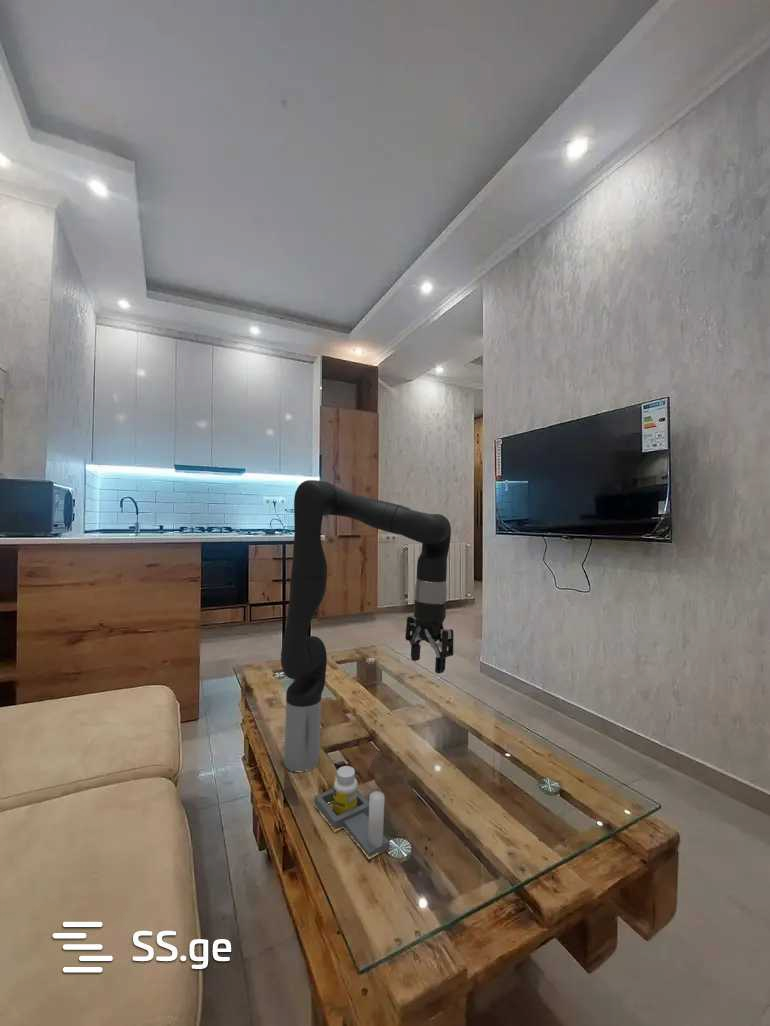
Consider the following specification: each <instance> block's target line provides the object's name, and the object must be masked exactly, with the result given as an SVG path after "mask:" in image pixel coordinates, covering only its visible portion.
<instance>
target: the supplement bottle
mask: <svg viewBox="0 0 770 1026" xmlns="http://www.w3.org/2000/svg"><path fill="white" fill-rule="evenodd" d="M358 786H359V783H358V780H357V779H356V771H355V769H354V768H353V767H352V766H349V765H344V766H341V767H338V769H337V771H336V778H335V780H334V782H333V788H334V790H333V803H332V811H333V812H334V813H335V814H336V816H338V815H340V814H343V813H345V812H347V811H349V810H351V809H354V808H356V807H357V790H358V788H359V787H358ZM358 791H359V790H358Z"/></svg>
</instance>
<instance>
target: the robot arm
mask: <svg viewBox="0 0 770 1026" xmlns="http://www.w3.org/2000/svg"><path fill="white" fill-rule="evenodd" d="M293 497H294V498H293V511H294V512H293V514H294V515H293V516H294V517H293V519H294V524H293V525H294V527H293V528H294V535H293V536H294V537H293V538H294V539H293V549H292V550H293V551H292V563H291V564H292V565H291V571H290V580H289V581H290V584H289V600H288V609H287V617H286V624H285V630H284V634H283V640H282V646H281V650H280V651H281V653H280V664H281V669H282V671H283V673H284V675H285V676H286V677H287V678H288V679H293V680H294V679H295V680H294V681H293V682H292V683H291V684H290V685H289V686H288V687H287V689H286V695H285V698H286V699H285V721H284V722H285V723H284V724H285V727H284V729H285V730H284V752H283V753H284V755H283V765H284V768H285V767H286V768H287V769H286V768H285V769H286V770H288V769H289V770H292V771H306V770H310V769H313V768H314V767H315V768H317V766H319V764H320V747H321V743H320V742H321V721H322V720H321V717H322V694H323V691H324V689H325V685H326V675H327V674H326V673H327V663H328V662H327V661H328V660H327V659H328V658H327V656H328V655H327V650H326V646H325V644H324V642H323V640H322V639H321V638H320V637H318V636H314V635H313V636H312V635H311V636H308V631H309V628H310V625H311V623H312V620H313V618H314V616H315V615H316V613H317V611H318V609H319V607H320V605H321V603H322V602H323V599H324V597H325V593H326V589H327V578H328V564H327V558H326V555H325V551H324V547H323V544H322V537H321V536H322V525H323V519H324V518H323V517H324V516H339V517H345V518H350V519H353V520H356V521H358V522H361V523H363V524H365V525H367V526H369V527H371V528H374V529H376V530H380V531H384V532H387V533H391V534H395V535H400V536H403V537H405V538H408V539H409V540H413V541H415V542H418V543H421V544H422V545H421V552H420V555H419V556H418V559H417V563H416V564H417V565H416V579H415V580H416V581H415V586H414V598H413V599H414V602H413V615H411V616H407V617H406V626H405V637H404V638H405V640H406V641H409V645H410V658H411V659H410V660H411V661H413V662H416V661H417V662H418V661H420V659H421V643H422V641H425V642H427V643H428V644H430V647H431V648H432V649H433V650H434V652H435V656H436V657H435V662H434V663H435V668H434V672H435V673H436V674H443V673H444V672H445V670H446V659H447V658H448V657H452V656H454V630H453V629H452V628H451V629H446V628H444V621H445V619H446V618H447V617H446V615H447V614H446V613H447V596H448V594H447V593H448V588H447V586H448V585H447V577H448V576H447V575H448V573H447V572H448V555H449V551H450V545H451V537H452V527H451V523H450V521H449V520H448V518H447V517H446V516H445V515H443V514H441V513H426V512H423V511H418V510H413V509H411V508H409V507H407V506H404V505H402V504H401V505H400V504H396V503H393V502H388V501H384V500H379V499H375V498H370V497H365V496H363V495H358V494H355V493H353V492H350V491H347V490H345V489H343V488H341V487H338V486H336V485H334V484H332V483H330V482H328V481H324V480H315V479H313V480H311V479H308V480H305V481H303V482H301V483H300V484H299V485H298V487H297V488H296V490H295V493H294V496H293ZM318 763H319V764H318ZM315 768H314V769H315ZM314 769H313V770H314ZM289 770H288V771H289ZM292 771H291V772H292ZM310 771H311V770H310Z"/></svg>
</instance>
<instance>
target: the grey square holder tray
mask: <svg viewBox="0 0 770 1026" xmlns="http://www.w3.org/2000/svg"><path fill="white" fill-rule="evenodd" d="M333 790H334V787H332V788H331V789H329V790H326V791H324V792H321V793H318V794H317V795H314V800H313V801H314V803H315V805H316V806H317V808H318V809H319V810H320V811H321V813H322V814H323V815H324V816H325V818H326V819H327V820H328V822H329V823H330V824H331V826H332V827H333V828H334V830H335V829H338V828H341V827H344V828H345V829H346V830H347V831H348V833H349V834H350V835H351V836H352V837H353V839H354V840H355V841H356V842H357V843H358V844H359V845H360V847H361V848H362V849H363V850H364V851H365V853H366V854H367V855H368V856H369V857H370V856H372V855H374V854H376V853H380V852H384V853H385V852H387V851H389V850H390V843H391V842H390V840H389V839H388V838H387V837H386V836H385V835H384V822H385V821H384V819H385V818H384V816H385V794H384V793H383V792H382V791H379V790H378V791H373V792H371V793H369V800H368V799H367V798H366V797H365V796H364V795H363V794H362V793H361V792H360V790H357V807H356V808H354V809H351V810H349V811H347V812H345V813H343V814H340V815H338V816H336V814H335V813H334V812H333V808H331V807H330V805H329V804H327V803H328V802H332V801H333ZM314 803H313V804H314Z"/></svg>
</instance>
